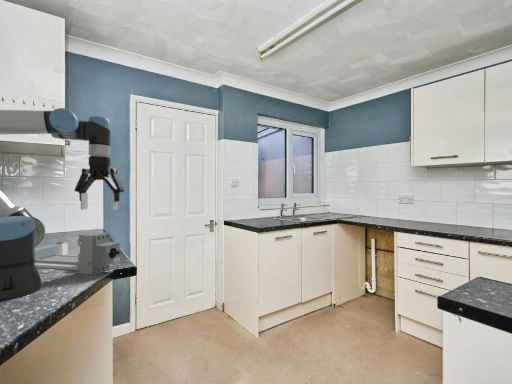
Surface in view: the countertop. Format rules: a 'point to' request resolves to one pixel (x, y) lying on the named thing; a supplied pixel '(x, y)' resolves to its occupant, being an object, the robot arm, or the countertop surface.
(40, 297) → the countertop surface
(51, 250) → the rail board
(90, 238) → the circuit breaker
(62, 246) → the relay block
